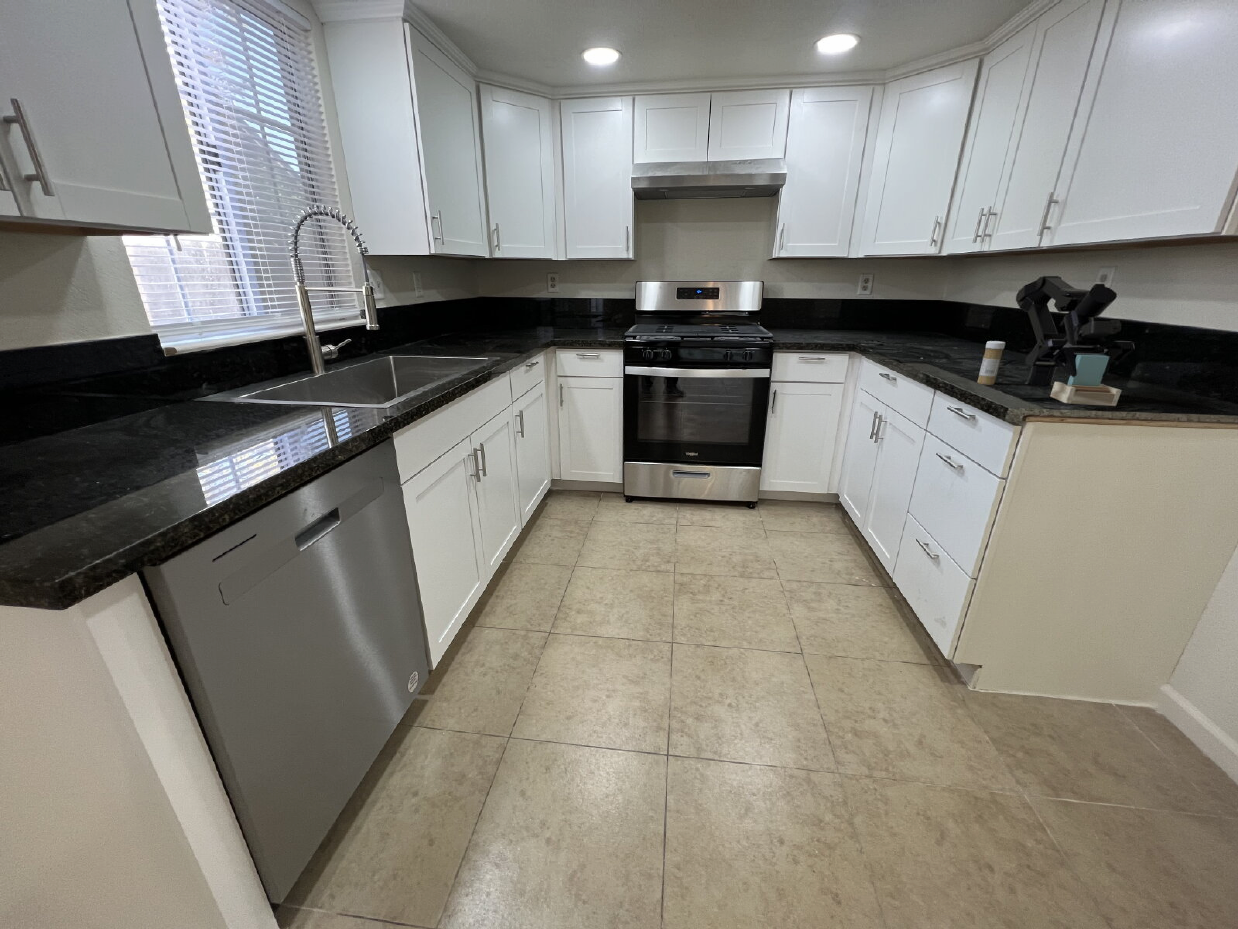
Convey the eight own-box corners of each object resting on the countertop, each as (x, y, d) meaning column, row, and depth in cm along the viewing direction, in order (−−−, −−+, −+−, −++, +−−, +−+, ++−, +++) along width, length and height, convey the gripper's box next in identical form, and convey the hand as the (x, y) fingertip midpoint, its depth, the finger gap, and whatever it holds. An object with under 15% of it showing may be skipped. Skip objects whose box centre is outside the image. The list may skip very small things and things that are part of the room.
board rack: (1049, 398, 136) (1054, 381, 134) (1095, 401, 133) (1102, 383, 132) (1065, 405, 129) (1071, 387, 127) (1114, 408, 126) (1121, 390, 124)
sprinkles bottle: (995, 385, 153) (1007, 341, 148) (991, 387, 150) (1004, 342, 145) (977, 383, 156) (989, 340, 151) (974, 385, 153) (985, 341, 148)
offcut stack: (1064, 399, 132) (1069, 384, 131) (1098, 401, 130) (1103, 386, 128) (1070, 402, 129) (1075, 387, 128) (1105, 404, 127) (1110, 388, 126)
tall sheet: (1063, 397, 134) (1077, 354, 130) (1089, 398, 132) (1104, 355, 128) (1067, 399, 132) (1081, 355, 128) (1094, 400, 130) (1109, 356, 126)
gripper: (1056, 308, 130) (1065, 356, 124) (1144, 309, 125) (1157, 359, 119) (1033, 335, 140) (1040, 381, 134) (1114, 337, 135) (1124, 385, 129)
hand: (1089, 376), depth 129 cm, fingers closed on tall sheet, 6 cm apart
